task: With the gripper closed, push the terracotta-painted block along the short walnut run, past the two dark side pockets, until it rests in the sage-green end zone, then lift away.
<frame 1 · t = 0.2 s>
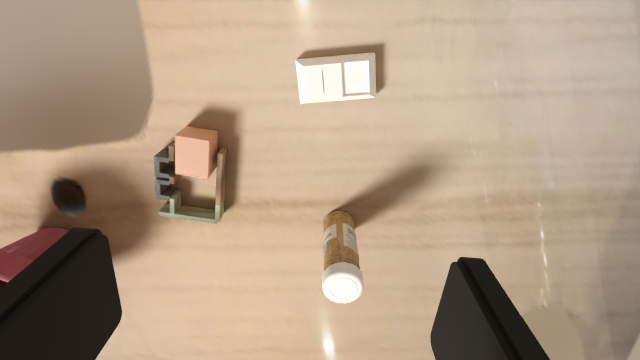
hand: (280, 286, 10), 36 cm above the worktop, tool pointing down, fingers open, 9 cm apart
sprinkles bottle: (338, 222, 51), on the worktop
plant pot: (65, 251, 54), on the worktop
block: (202, 146, 47), on the worktop
white boxy piece: (336, 76, 43), on the worktop
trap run: (198, 177, 48), on the worktop
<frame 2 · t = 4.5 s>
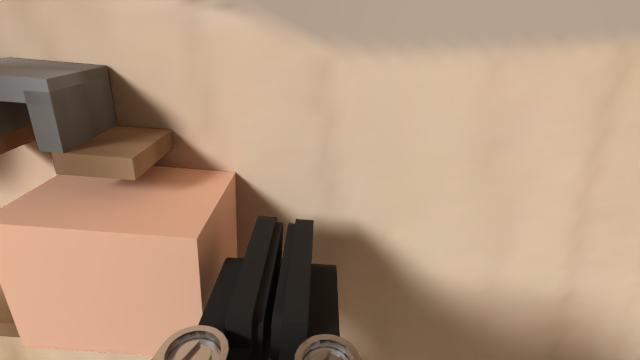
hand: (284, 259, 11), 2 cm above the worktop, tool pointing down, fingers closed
block: (166, 217, 13), on the worktop, touching gripper
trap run: (34, 201, 12), on the worktop
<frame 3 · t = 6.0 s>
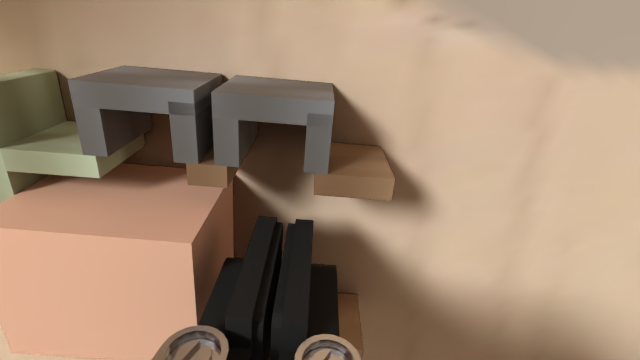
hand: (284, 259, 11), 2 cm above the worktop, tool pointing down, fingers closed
block: (161, 219, 12), on the worktop, touching gripper, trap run
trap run: (223, 216, 12), on the worktop
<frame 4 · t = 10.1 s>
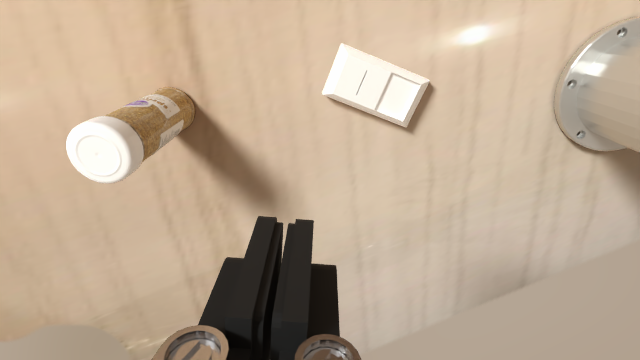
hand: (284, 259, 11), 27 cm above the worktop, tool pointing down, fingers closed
sprinkles bottle: (174, 108, 37), on the worktop
white boxy piece: (373, 84, 36), on the worktop
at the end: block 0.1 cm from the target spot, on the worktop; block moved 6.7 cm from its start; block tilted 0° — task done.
